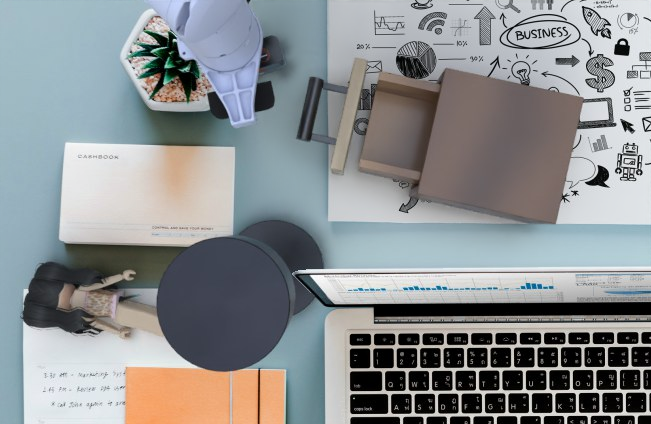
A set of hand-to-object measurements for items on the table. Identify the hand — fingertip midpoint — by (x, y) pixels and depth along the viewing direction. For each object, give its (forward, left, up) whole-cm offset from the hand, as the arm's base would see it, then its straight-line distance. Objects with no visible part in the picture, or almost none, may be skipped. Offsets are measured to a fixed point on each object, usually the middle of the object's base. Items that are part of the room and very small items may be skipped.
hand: (243, 64), depth 62 cm
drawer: (+3, +14, -3) cm, 15 cm away
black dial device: (0, 0, -4) cm, 4 cm away
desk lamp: (+19, +7, -4) cm, 21 cm away
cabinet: (+3, +25, -4) cm, 26 cm away
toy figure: (+26, -9, -4) cm, 28 cm away
